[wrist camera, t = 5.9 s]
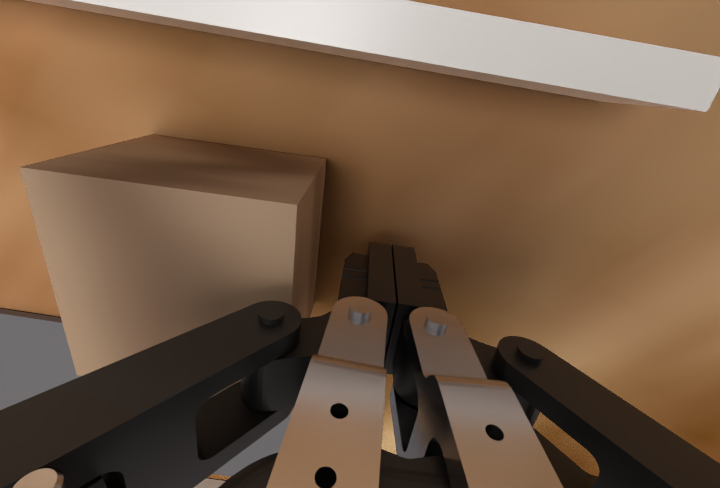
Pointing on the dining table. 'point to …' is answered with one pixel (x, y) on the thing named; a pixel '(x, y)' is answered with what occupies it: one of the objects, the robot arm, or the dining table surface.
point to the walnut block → (172, 238)
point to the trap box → (395, 47)
